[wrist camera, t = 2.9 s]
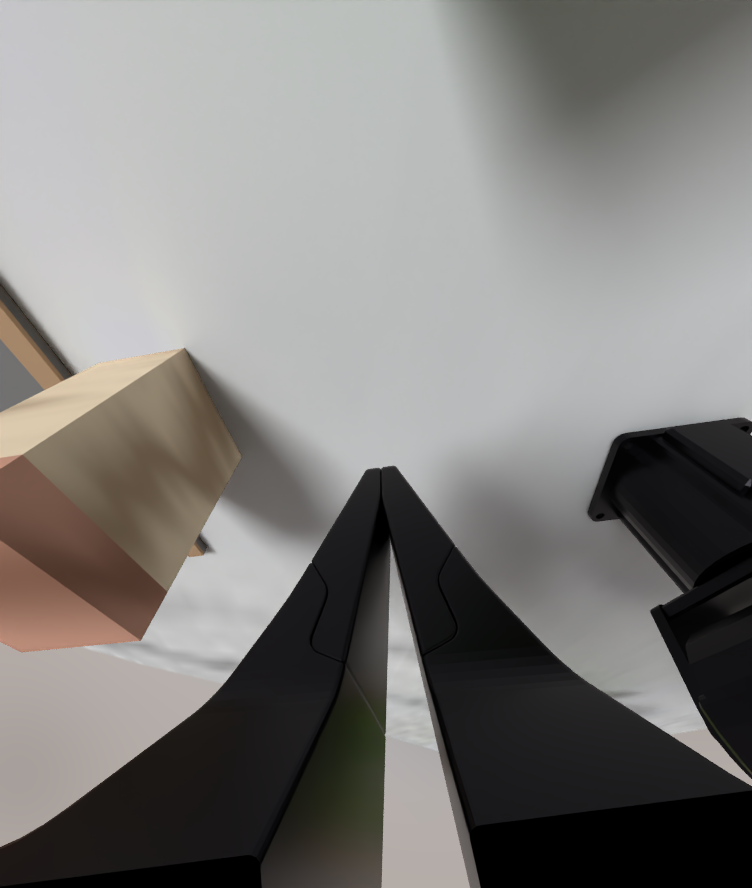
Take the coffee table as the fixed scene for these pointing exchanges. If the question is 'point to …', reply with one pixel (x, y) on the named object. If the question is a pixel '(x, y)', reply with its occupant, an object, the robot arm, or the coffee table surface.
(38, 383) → the mat
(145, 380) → the maple block
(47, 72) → the coffee table surface
